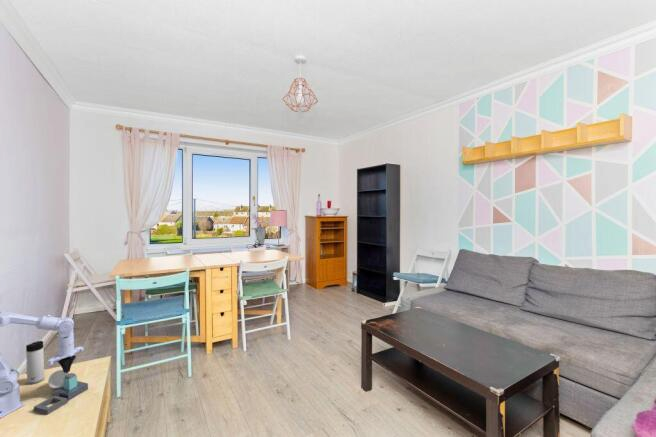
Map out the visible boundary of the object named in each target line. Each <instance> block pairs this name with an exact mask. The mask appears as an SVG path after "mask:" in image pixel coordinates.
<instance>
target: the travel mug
mask: <svg viewBox="0 0 656 437" xmlns="http://www.w3.org/2000/svg"><path fill="white" fill-rule="evenodd" d="M25 350H26V351H25V352H26V353H25V354H26V356H25V357H26V382H27V383H26V384H27V385H36V384H38V383H41V382H43V380H45V354H44V353H45V352H44V351H45V350H44V341H43V340H39V341H34V342H32V343H29V344H27V345H26V348H25Z"/></svg>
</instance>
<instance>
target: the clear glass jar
mask: <svg viewBox="0 0 656 437" xmlns="http://www.w3.org/2000/svg"><path fill="white" fill-rule="evenodd" d="M68 374H70V372H68V373H64V372H63V369H59V370H56V371H54V372H52V373H51V375H49V378H48V381H47V384H48V386H49V387H50V388H52V389H56V388H60V387H63V378H65V376H66V375H68Z"/></svg>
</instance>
